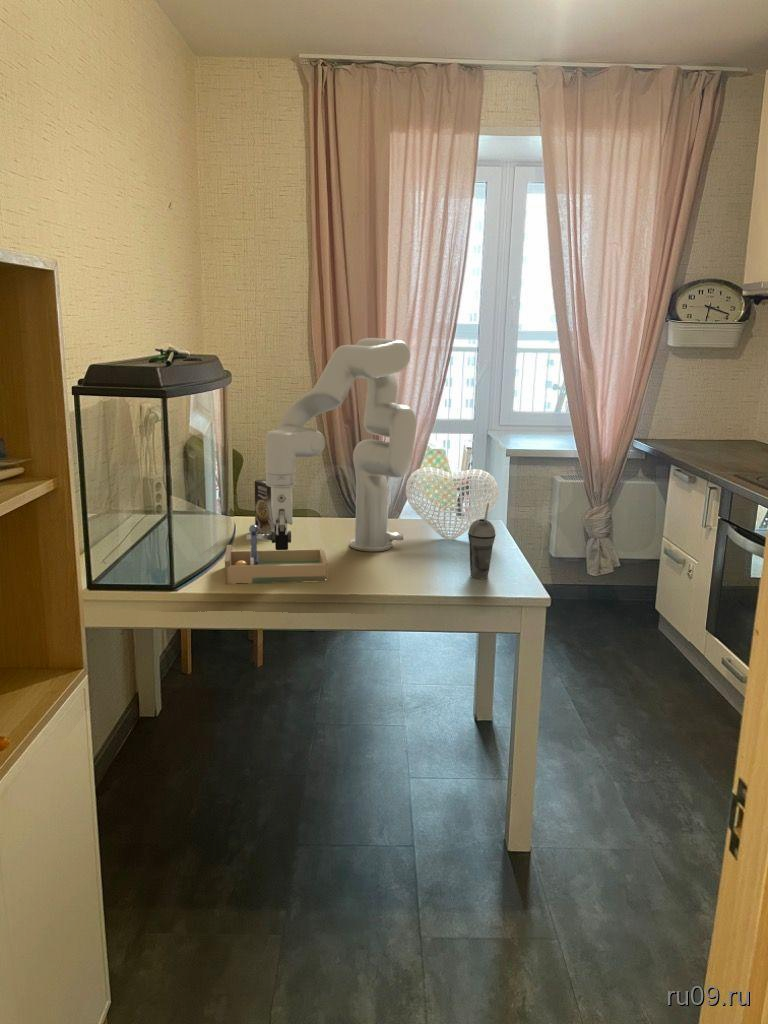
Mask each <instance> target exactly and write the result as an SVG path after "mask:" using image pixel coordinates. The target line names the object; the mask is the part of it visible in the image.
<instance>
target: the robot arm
mask: <svg viewBox="0 0 768 1024" xmlns="http://www.w3.org/2000/svg"><path fill="white" fill-rule="evenodd" d="M410 360H411V349H410V347H409V345H407V343H406V342H405V341H403V340H399V339H393V338H392V339H391V338H381V337H380V338H378V337H366V338H361V339H360V340H358V341H357V342H356V344H344V345H340V346H338V347H336V349H335V350H334V352H333V353H332V355H331V357H330V359H329V360H328V362H327V363H326V366H325V367H324V370H323V371H322V373H321V375H320V377H319V378H318V380H317V382H316V384H315V385H314V387H313V388H312V389H311V390H310V391H308V392H306V393H305V394H304V395H303V396H301V397H300V398H299V399H298V400H296V401H295V402H293V403H292V404H291V405H290V406H289V407H288V409H287V410H286V412H285V413H284V414H283V416H282V418H281V419H280V421H279V422H278V424H277V427H276V429H273V430H270V431H268V432H267V433H266V434H265V477H266V478H265V479H266V485H267V486H269V487H271V507H272V516H273V523H274V524H275V531H276V535H275V543H274V544H275V549H276V550H288V549H289V543H288V534H287V531H288V525H290V526H291V525H293V523H294V522H293V487H295V486H296V485H297V483H296V481H297V479H296V478H297V476H296V474H297V472H296V471H297V469H296V468H297V467H296V465H297V464H296V460H297V458H305V459H306V458H308V459H309V458H315V457H317V456H319V455H321V453H322V452H323V451H324V450H325V447H326V439H325V436H324V435H323V433H321V432H320V431H319V430H317V429H314V428H310V427H305V426H306V424H307V423H308V422H309V421H310V420H311V419H313V418H314V417H316V416H318V415H321V414H323V413H326V412H330V411H332V410H334V409H336V408H339V407H340V406H341V405H342V404H343V403H344V401H345V399H346V398H347V395H348V394H349V391H350V390H351V388H352V386H353V384H354V383H355V381H356V379H366V381H367V391H366V392H367V393H366V399H365V407H364V413H363V414H364V415H363V428H364V429H365V431H366V432H367V433H369V434H372V435H374V436H381V437H384V438H389V441H384V440H379V439H373V438H372V439H363V440H361V441H359V442H357V444H356V445H355V447H354V450H353V453H352V462H353V467H354V472H355V527H354V528H355V531H354V533H355V535H354V538H352V539H350V540H349V546H350V548H352V549H354V550H356V551H362V552H370V553H371V552H374V553H375V552H382V551H387V550H389V549H391V548H392V547H393V541H404V534H403V533H398V532H390V531H389V529H388V528H389V525H388V524H389V522H388V521H389V499H390V498H389V497H390V496H389V495H390V489H389V482H388V480H387V479H388V478H387V477H390V478H402V477H404V476H405V475H406V474H408V472H409V469H410V467H411V464H412V458H413V454H414V453H413V452H414V446H415V439H416V432H417V417H416V414H415V412H414V410H413V409H412V408H411V407H410V406H408V405H405V404H398V403H397V400H398V399H397V398H398V380H397V377H396V375H395V374H397V373H399V372H401V371H403V370H404V369H406V367H407V366H408V365H409V363H410ZM278 531H279V532H278Z"/></svg>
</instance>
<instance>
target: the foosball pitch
mask: <svg viewBox="0 0 768 1024" xmlns="http://www.w3.org/2000/svg"><path fill="white" fill-rule="evenodd" d="M250 554H251V549H235V550H234V549H232V544H227V545H226V550H225V558H224V581H225V582H224V583H225V585H237V584H236V583H248V584H272V583H271V582H286V583H303V582H302V581H324V582H326V580H325V579H327V580H328V560H327V556H326V552H325V549H322V547H321V548H288V550H276V549H257V554H258V565H254V558H250ZM240 560H243V561H245V562H246V563H247V564H248V565H235V564H236V562H238V561H240ZM250 562H251V565H250Z"/></svg>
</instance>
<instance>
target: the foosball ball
mask: <svg viewBox="0 0 768 1024" xmlns="http://www.w3.org/2000/svg"><path fill="white" fill-rule="evenodd" d="M235 565H248V564H247V563H246V562H245V561H243V560H240V561H238V562H236V564H235Z"/></svg>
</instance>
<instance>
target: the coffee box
mask: <svg viewBox="0 0 768 1024" xmlns="http://www.w3.org/2000/svg"><path fill="white" fill-rule="evenodd" d="M254 522H255V523H254V525H256V526H258V529H259V530H258V532H257V533H259V534H262V533H263V534H271V531H275V524H274V523H273V516H272V507H271V487H269V486H267V485H266V478H264V479H256V480H254Z"/></svg>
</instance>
